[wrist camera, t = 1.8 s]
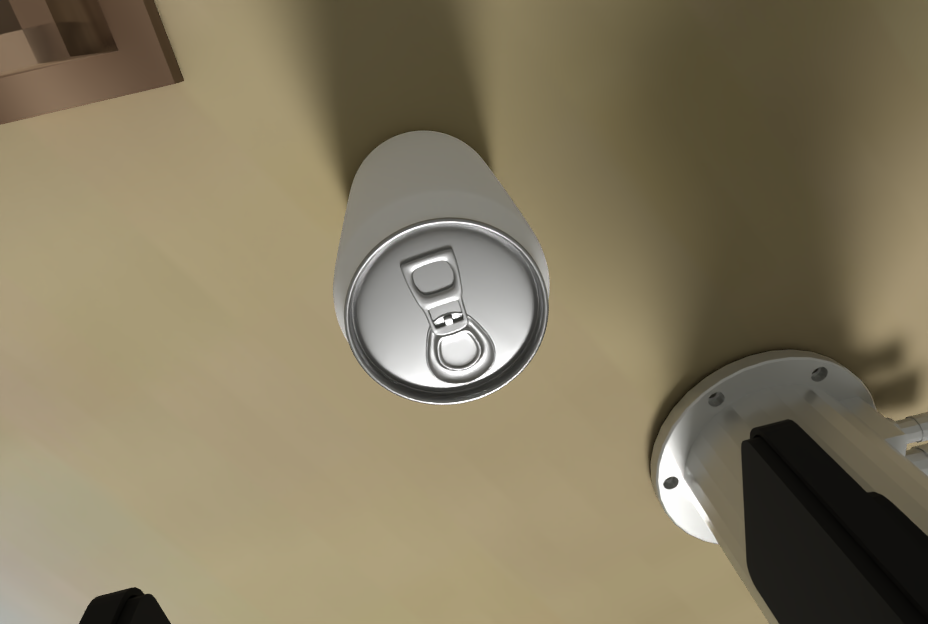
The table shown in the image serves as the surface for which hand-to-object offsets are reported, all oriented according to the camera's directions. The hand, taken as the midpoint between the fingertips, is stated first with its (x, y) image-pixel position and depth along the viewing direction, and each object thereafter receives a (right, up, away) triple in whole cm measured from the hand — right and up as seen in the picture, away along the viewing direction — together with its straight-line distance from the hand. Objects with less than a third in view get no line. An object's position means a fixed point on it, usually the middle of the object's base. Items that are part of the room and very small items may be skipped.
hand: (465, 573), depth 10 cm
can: (-2, +9, +18) cm, 21 cm away
